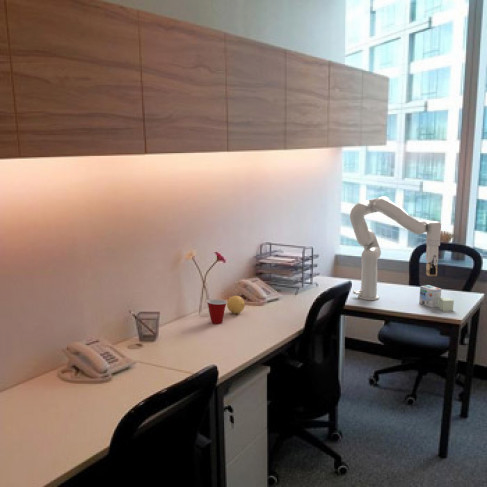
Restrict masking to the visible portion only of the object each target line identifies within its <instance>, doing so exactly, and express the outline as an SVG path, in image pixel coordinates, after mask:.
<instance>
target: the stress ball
mask: <svg viewBox="0 0 487 487" xmlns="http://www.w3.org/2000/svg"><path fill="white" fill-rule="evenodd" d="M245 306H246V305H245V300H244V298H243V297H242V296H239V295H233V296H231V297H229V298H228V300H227V303H226V307H227V309H228V310H229V312H230V313H232V314H234V315H237V314H239V313H241V312H243V310H244V309H245Z"/></svg>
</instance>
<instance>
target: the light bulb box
mask: <svg viewBox="0 0 487 487" xmlns="http://www.w3.org/2000/svg"><path fill="white" fill-rule="evenodd" d="M439 298H442V288H440V287H437V286H434V285H430V284H426V285H420V286H419V301H418V303H419V304H420V305H423V306H425V307H429V308H438V304H439Z"/></svg>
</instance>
